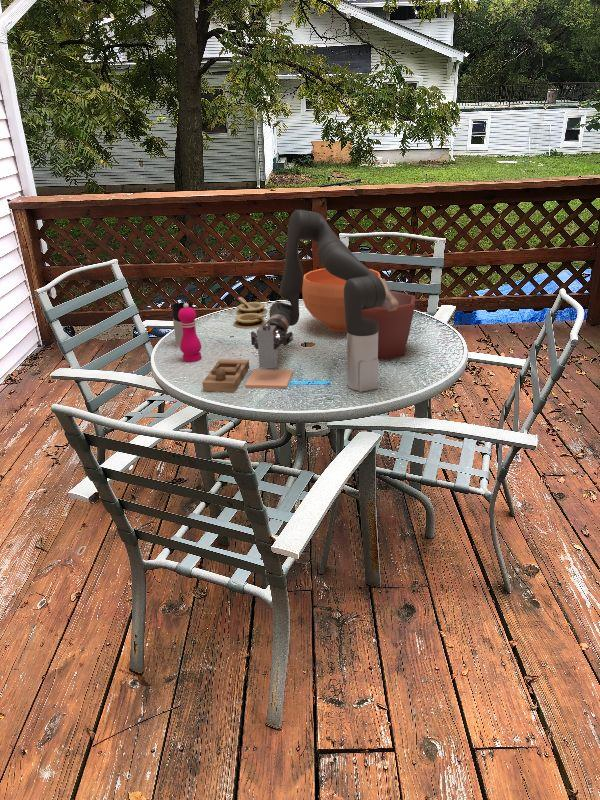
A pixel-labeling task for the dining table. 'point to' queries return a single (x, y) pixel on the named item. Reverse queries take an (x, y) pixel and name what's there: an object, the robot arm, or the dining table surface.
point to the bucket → (392, 322)
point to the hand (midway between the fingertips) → (265, 346)
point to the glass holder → (178, 321)
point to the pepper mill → (189, 335)
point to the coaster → (269, 378)
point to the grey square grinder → (267, 346)
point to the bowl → (326, 298)
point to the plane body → (226, 375)
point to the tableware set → (249, 314)
